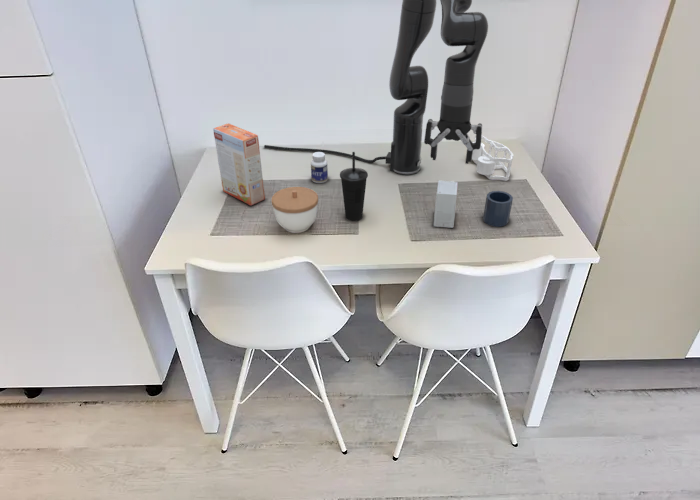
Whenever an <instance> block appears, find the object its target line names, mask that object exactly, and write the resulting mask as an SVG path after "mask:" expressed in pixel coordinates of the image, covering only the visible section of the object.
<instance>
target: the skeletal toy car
mask: <svg viewBox="0 0 700 500" xmlns="http://www.w3.org/2000/svg"><path fill="white" fill-rule="evenodd" d="M481 141H484V143H485V144H488V145H489V148H488V152H487V151H486V145H485V144H484V143H483V142H481V146H480V149H474V150H473V154H472V160H471V161H472V162H473V163H474V164H475V165H476V169H475V171H476V173H477V174H479V175H482V176H485V178H487V179H489V180H491V181H494V180H496V181H497V180H498V181H503V182H507V181H509V180H510V176H511V170H512V164H513V159H514V153H513V151H511V149H510V148H509V147H508V146H506V145H504V144H503V143H500V142H498V141H495V140H492V139H488V137H486V136H484V135H482V137H481ZM472 143H476V136H475V137H474V141H472ZM492 149H493V150H494V151H495V152H494V156H492V151H493V150H492ZM499 152H503V157H498V155H499ZM465 154H466V155H467V153H465ZM507 154H508V155H509V158H507ZM466 155H465V156H466ZM505 164H507V166H506V165H505ZM501 169H502V170H503V171H504V172H505V173H506V174H505V176H503V175H494V173H495V171H496V170H501Z"/></svg>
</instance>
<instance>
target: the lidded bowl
mask: <svg viewBox="0 0 700 500" xmlns="http://www.w3.org/2000/svg"><path fill="white" fill-rule="evenodd" d="M270 200H271V205H272V212H273V215H274V218H275V220H276V222H277V223H278V225H279V226H280V227H281V228H282V229H284V230H285V231H286V232H289V233H291V234H300V233H304V232H306V231H308V230H309V229H310V227H311V226H312V225H313V224H314V223H315V222H316V219H317V217H318V213H319V212H318V211H319V195H318V193H317V192H316V191H314V190H313V189H311V188H309V187H304V186H290V187H285V188H281V189H279V190H278V191H276V192H275V193H274V194H273V195H272V196H271V199H270Z"/></svg>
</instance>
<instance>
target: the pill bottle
mask: <svg viewBox="0 0 700 500" xmlns="http://www.w3.org/2000/svg"><path fill="white" fill-rule="evenodd" d="M328 169H329V168H328V160H327V159H326V153H323V152H313V153H312V159H311V161H310V175H311V176H310V177H311V179H310V180H311V182H314V183H315V184H324V183H326V182H328V179H329V171H328Z"/></svg>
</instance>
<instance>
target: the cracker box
mask: <svg viewBox="0 0 700 500" xmlns="http://www.w3.org/2000/svg"><path fill="white" fill-rule="evenodd" d="M212 130H213V137H214V142H215V149H216V155H217V161H218V162H217V163H218V167H219V173H220V180H221V187H222V192H223V193H226V194H227V195H229V196H231V197H233V198H235V199H237V200H239V201H240V202H243V203H244V204H246V205H249V206H253V205H256V204H258V203H261V202H262V201H265V200H266V195H265V187H264V178H263V167H262V161H261V150H260V141H259V135H258V134H256V133H254V132H251V131H249V130H247V129H244V128H241V127H238V126H236V125H234V124H231V123H228V122H227V123H225V124H222V125H219V126H217V127H216V126H215V127H214V128H212Z"/></svg>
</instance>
